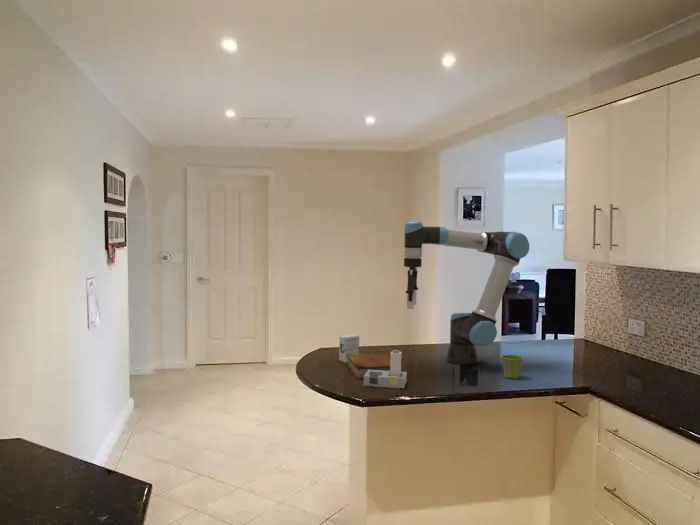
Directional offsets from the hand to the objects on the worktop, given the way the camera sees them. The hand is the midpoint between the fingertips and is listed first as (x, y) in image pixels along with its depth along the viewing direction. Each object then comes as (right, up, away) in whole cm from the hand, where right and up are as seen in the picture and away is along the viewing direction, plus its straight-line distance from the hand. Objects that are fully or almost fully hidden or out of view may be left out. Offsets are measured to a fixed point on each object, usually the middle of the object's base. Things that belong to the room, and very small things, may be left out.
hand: (411, 306), depth 261 cm
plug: (-8, -29, -19) cm, 35 cm away
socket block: (-12, -30, -18) cm, 37 cm away
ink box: (-27, -27, +22) cm, 44 cm away
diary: (-17, -29, +2) cm, 34 cm away
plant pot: (+42, -30, -3) cm, 52 cm away
